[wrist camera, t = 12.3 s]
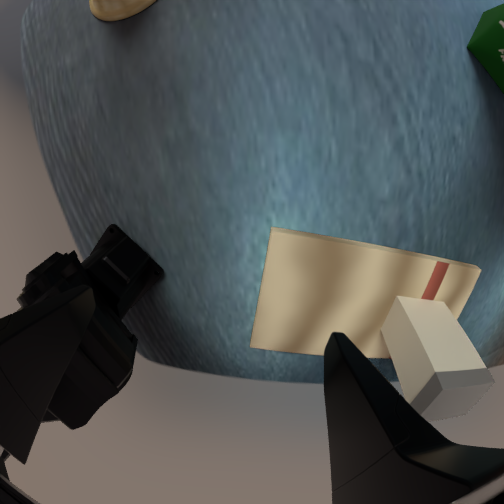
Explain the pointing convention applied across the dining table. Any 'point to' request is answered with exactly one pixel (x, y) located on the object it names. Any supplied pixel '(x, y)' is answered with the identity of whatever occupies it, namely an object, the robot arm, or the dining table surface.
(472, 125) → the dining table surface
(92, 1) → the hand bell
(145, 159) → the dining table surface
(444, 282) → the board
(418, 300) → the white slab
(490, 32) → the milk carton
